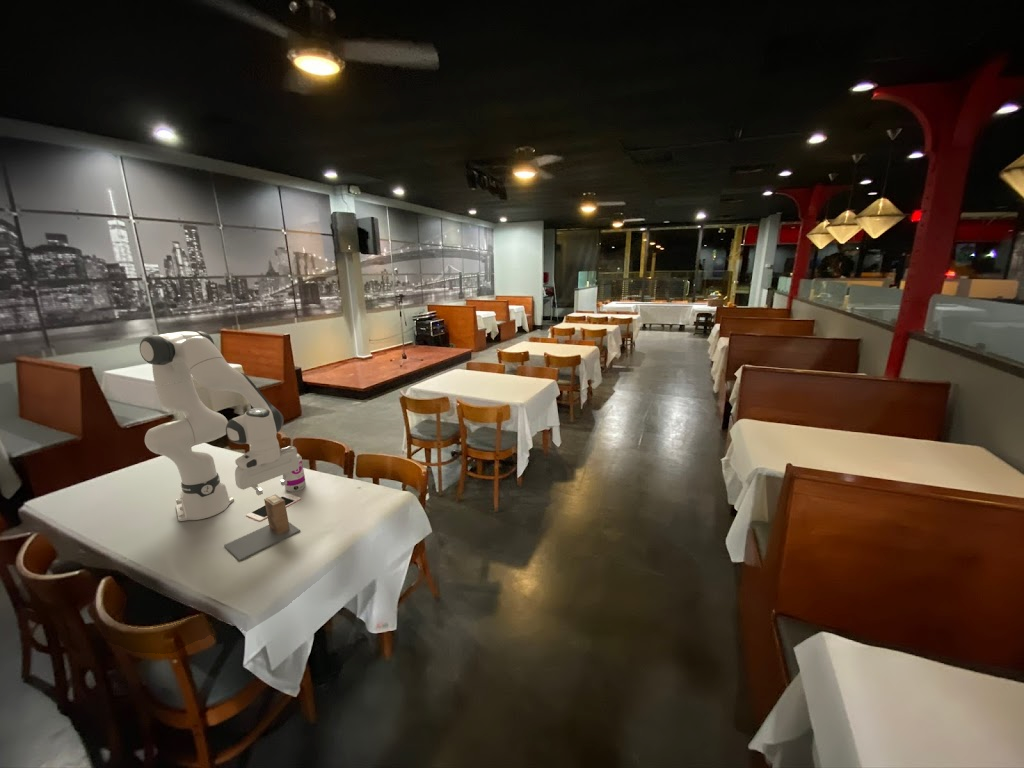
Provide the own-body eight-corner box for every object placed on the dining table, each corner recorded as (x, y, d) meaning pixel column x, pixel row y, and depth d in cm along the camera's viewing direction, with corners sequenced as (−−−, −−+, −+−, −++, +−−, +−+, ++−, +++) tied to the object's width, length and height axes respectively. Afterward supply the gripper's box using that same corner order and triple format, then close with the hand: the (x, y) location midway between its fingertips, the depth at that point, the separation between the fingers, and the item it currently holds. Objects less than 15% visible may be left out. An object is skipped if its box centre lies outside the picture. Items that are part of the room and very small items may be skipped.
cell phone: (301, 499, 173) (301, 497, 173) (260, 522, 157) (259, 520, 157) (287, 495, 177) (287, 493, 177) (245, 516, 161) (245, 514, 161)
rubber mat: (224, 546, 143) (224, 545, 143) (283, 519, 158) (283, 518, 158) (239, 561, 136) (239, 559, 135) (300, 531, 151) (300, 530, 151)
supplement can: (309, 485, 184) (305, 454, 180) (292, 494, 177) (286, 462, 173) (299, 481, 188) (294, 450, 184) (281, 489, 181) (275, 457, 177)
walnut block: (269, 528, 152) (264, 498, 149) (280, 522, 155) (275, 493, 152) (278, 534, 148) (272, 504, 145) (289, 529, 151) (284, 499, 148)
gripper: (291, 442, 154) (297, 475, 157) (229, 462, 138) (237, 498, 142) (299, 446, 150) (305, 480, 154) (237, 467, 134) (245, 504, 138)
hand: (272, 489), depth 148 cm, fingers open, 7 cm apart
